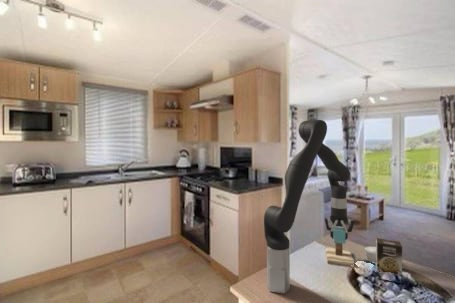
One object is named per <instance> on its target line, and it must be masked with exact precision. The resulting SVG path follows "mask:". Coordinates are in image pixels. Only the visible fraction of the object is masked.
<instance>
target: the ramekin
mask: <svg viewBox="0 0 455 303" xmlns="http://www.w3.org/2000/svg"><path fill="white" fill-rule="evenodd" d="M364 252H365V256H366V260H367V261H368V262H369V261H370V263H371V262H375V263H376V246H366V247H365V248H364Z"/></svg>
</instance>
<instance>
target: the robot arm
mask: <svg viewBox="0 0 455 303" xmlns="http://www.w3.org/2000/svg"><path fill="white" fill-rule="evenodd" d="M327 132H328V125H327V122H326V121H325V120H323V119H312V120H311V119H309V120H304V121H303V120H302V122H300V124H299V125H298V135H299V136H300V138H301V140H302V141H303V142H304V143H306V145H305V146H304V147H303V148H302V149H301V150H300V151H299V152H298V153H297V154H296V155H295V156H294V157H293V158H292V159H291V160H290V162H289V164H288V167H287V168H286V171H285V173H284V174H285V175H284V184H285V185H284V186H285V197H284V201H283V203H282V207H281V206H278V205H270V206H268V207H266V208H267V209H266V210H265V212H264V215H263V226H264V227H263V228H264V237H265V238H264V239H265V240H266V276H267V277H266V281H267V282H266V286H267V288H268V290H269V292H271V293H278V294H284V295H285V294H286V293H287V292H289V291H290V289H291V277H290V275H291V273H290V272H291V271H290V270H291V268H290V266H291V264H290V263H291V262H290V261H291V260H290V257H291V256H290V253H291V252H290V249H291V248H290V246H291V244H290V239H289V237H288V236H287V235H286V233H288V232H289V231H290V230H291V229H292V227H293V226H294V222H295V219H296V215H297V213H298V208H299V205H300V201H301V198H302V195H303V192H304V188H305V186H306V183H307V181H308V179H309V176H310V173H311V170H312V167H313V164H314V162H315V160H316V157H318V158H319V159H320V161H321V162H322V164H323V165H324V168H325V169H327V174H326V175H327V179H328V183H329V185H330V190H331V192H330V194H331V197H330V217H324V223H325V227H326V231H329V232H330V235H329V236H330V238H332V240H333V229H334V228H335V226H336V227H343V228H344V230H345V241H347V239H348V238H349V236H348V233H352V232H353V228H354V227H353V226H354V224H355V221H354V219H352V218H351V219H350V218H349V217H348V201H347V187H345V186H344V185H341V184H340V182H343V183H345V182H348V181H349V180H350V178H351V172H350V170H349V168H348V167H347V166H346V165H345V164H344V163H343V162H342V161H340V160H339V158H338V156H337V154H336V153H335V152H334V151H333V150H332V149H331V148H330V147H329V146H327V145H326V144H325V143H324V140H325V138H326V135H327ZM329 222H331V226H330V225H329ZM347 223H348V228H347V226H346V224H347Z"/></svg>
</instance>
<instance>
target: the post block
mask: <svg viewBox="0 0 455 303" xmlns="http://www.w3.org/2000/svg"><path fill="white" fill-rule="evenodd" d="M324 251H325V256H326V261H327V262H326V263H327V264H328V265H334V266H342V267H348V268H349V267H350V266H351V265H353V264H354V262H355V261H354V258H353V256H352V252H351V251H350V248H344V247H343V243H335V246H334V247H333V246H324ZM350 268H351V267H350Z"/></svg>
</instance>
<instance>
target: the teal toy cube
mask: <svg viewBox="0 0 455 303" xmlns="http://www.w3.org/2000/svg"><path fill="white" fill-rule="evenodd" d="M332 240H333V243H342V245H343V244H346V240H345V230H344V228H343V226H342V227H341V226H335V228H334V229H333V239H332Z"/></svg>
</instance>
